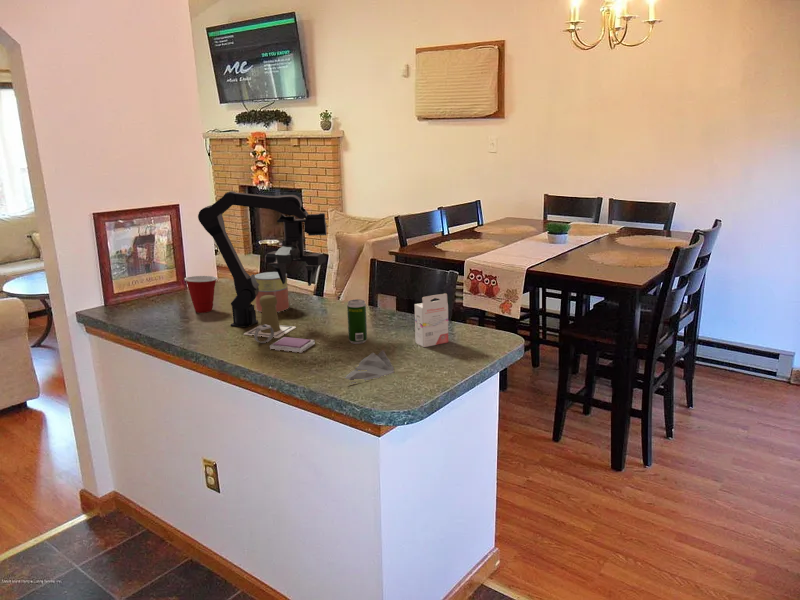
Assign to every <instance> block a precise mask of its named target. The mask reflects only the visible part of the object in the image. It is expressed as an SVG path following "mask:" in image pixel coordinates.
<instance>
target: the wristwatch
mask: <svg viewBox="0 0 800 600" xmlns="http://www.w3.org/2000/svg"><path fill="white" fill-rule="evenodd" d="M255 328H257V329H256V331H255V334H254V336H253V337H254V338H253V339H254V340H255V341H256V342H257V343H260V344H266V342H267V343H269V342H270V341H271V340H272V339H274V338H273V336H274V330H273V329H272V327H271V326H269V325H266V324H265V325H262V326H259V325H257V326H256V327H255ZM269 328H270V330H271V334H270V337H267V339H266V340H263V341H262V340H261V341H260V340H259V338H258V337H259V336H258V332H259V331H260V330H265V329H269Z"/></svg>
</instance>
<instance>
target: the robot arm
mask: <svg viewBox="0 0 800 600" xmlns="http://www.w3.org/2000/svg"><path fill="white" fill-rule="evenodd" d="M302 203H303V202H302V200H301V198H300V197H299V196H297V195H295V194H282V195H275V196H274V195H273V196H271V195H263V194H262V195H261V194H252V193H245V192H244V193H243V192H237V191H232V190H231V191H230V190H229V191H228V192H225V193H224V194H223V196H222V197H221V198H220V199H218V200H216V201H215V202H214V203H213V204H211V205H206V206H205V207H203V208H202V209H200V210H199V211H198V214H197V218H198V221H199V223H200V224H201V226H202V227H203V228H204V230H205V231H206V232H207V233H208V234H209V235H210V236H211V237H212V239H213V240H214V242H215V245H216V246H217V249H218V251H219V252H220V254H221V256H222V258H223V260H224V262H225V264H226V266H227V268H228V271H229V272H230V274H231V277H232V279H233V283H234V289H235V293H236V296H235V297H234V298H233V300H232V301H231V302H230V305H231V309H232V311H231V312H232V321H233V322H232V323H230V326H232V327H239V328H241V327H242V328H248V327H251V326H253V325H255V324H256V323H259V320H257V310H256V309H255V304H252V303H253V301H255V300H256V296H257V295H258V292H259V288H258V286H259V284H258V283H257V281H256V279H255V276H254V275H255V274H254V273H253V274H251V275H250V274H249V273H248V272H247V271H246V269H245V267H244V265H243V264H242V263H243V262H241V259H240V258H239V256H238V254H237V251H236V250H235V247H234V245H233V243H232V241H231V239H230V237H229V235H228V232H226V231H227V230H226V227H225V226H226V225H225V220H224V216H223V214H224V213H225V212H226V211H227V210H229V209H230V208H231V207H232V206H239V207H248V208H257V209H265V210H266V209H267V210H271V211H275V212H277V213H280V214H281V215H280V217H279V218H278V219H277V220H276V223H283V232H284V233H283V234H284V239H283V240H282V242H281V244H282V245H281V247H279V248H278V250H274V251H270V252H267V253H266V254H265V256H264V262H265V263H266V264H267V263H268V265H269V266H272V267H273V268H274V270H276V272H278V274H279V277H280V279H281V281H282V283H283V284H285V282H286V274H287V265H290V264H291V263H292V262H305V263H306V264H307V265H305V268H306V270H307V273H306V274H307V286H308V287H310V286H312V283H313V280H314V277H315V275H316V274H317V273H316V272H317V270H318V268H319V267H320V266H322V265H323V264H325V263H327V260H326V256H325V254H324V253H322V252H321V253H318V252H316V253H315V252H314V253H311V254H308V255H306V254H307V251H306V250H304V249H305V246H304V242H306V237H304V233H305V234H307V235H308V236H309V237H310V236H327V233H328V232H327V222H326V221H327V220H326V213H325V212H322V213H313V214H312V213H309V212H308V211H307V209H305V207H304V206H303V204H302ZM286 215H287V216H286ZM303 228H304V229H303ZM303 231H304V232H303Z"/></svg>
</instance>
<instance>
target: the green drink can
mask: <svg viewBox="0 0 800 600" xmlns="http://www.w3.org/2000/svg"><path fill="white" fill-rule="evenodd" d="M346 307H347V308H346V309H347V310H346V311H347V333H348V334H347V335H348V337H347V338H348V341H349V343H351V344H353V345H354V344H355V345H359V344H364V343H366V342H367V340H368V332H367V330H368V327H367V303H366V300H365V299H358V298H357V299H350V300H348V301H347V305H346Z"/></svg>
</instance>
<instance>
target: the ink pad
mask: <svg viewBox="0 0 800 600" xmlns="http://www.w3.org/2000/svg"><path fill="white" fill-rule="evenodd" d="M315 343H316V342H315V339H308V338H307V339H306V338H297V337H288V336H282V337H280V338H279V339H278V340H277V341H275V342H272V344H270V345H269V350H271V349H275V350H274V351H280V350H284V351H283V352H289V351H292V352H291V353H297V352H299V353H298V354H301V353H304V352H305V351H306V350H308V349H309V348H311V347H312V346H314V345H315ZM303 351H304V352H303Z"/></svg>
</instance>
